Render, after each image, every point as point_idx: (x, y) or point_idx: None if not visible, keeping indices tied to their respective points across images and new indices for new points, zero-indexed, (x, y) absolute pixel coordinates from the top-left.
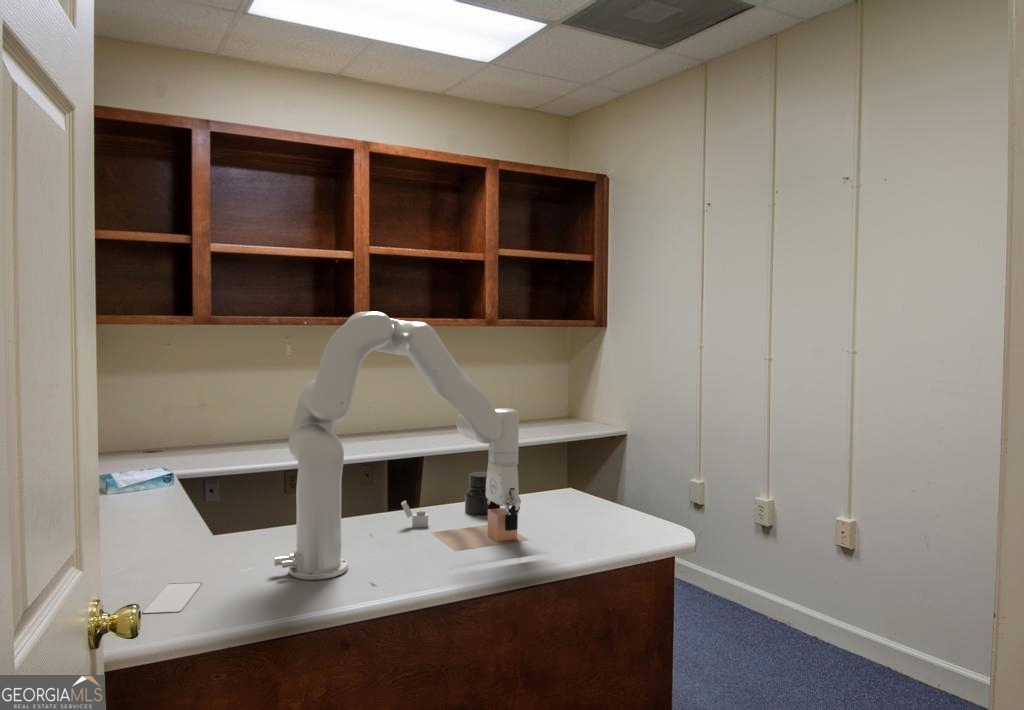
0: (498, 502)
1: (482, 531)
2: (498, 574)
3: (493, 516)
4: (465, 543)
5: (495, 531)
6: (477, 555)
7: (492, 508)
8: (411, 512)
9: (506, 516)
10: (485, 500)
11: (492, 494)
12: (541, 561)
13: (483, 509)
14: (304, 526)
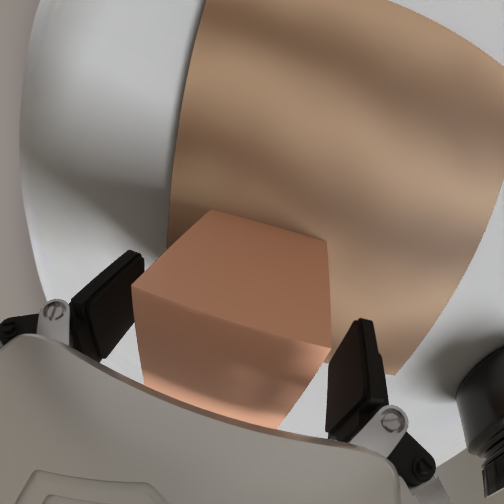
0: (45, 359)
1: (389, 264)
2: (36, 68)
3: (215, 292)
4: (285, 54)
5: (212, 232)
6: (170, 60)
7: (351, 391)
8: None
9: (77, 295)
10: (487, 418)
11: (158, 489)
12: (52, 221)
13: (484, 390)
14: None
